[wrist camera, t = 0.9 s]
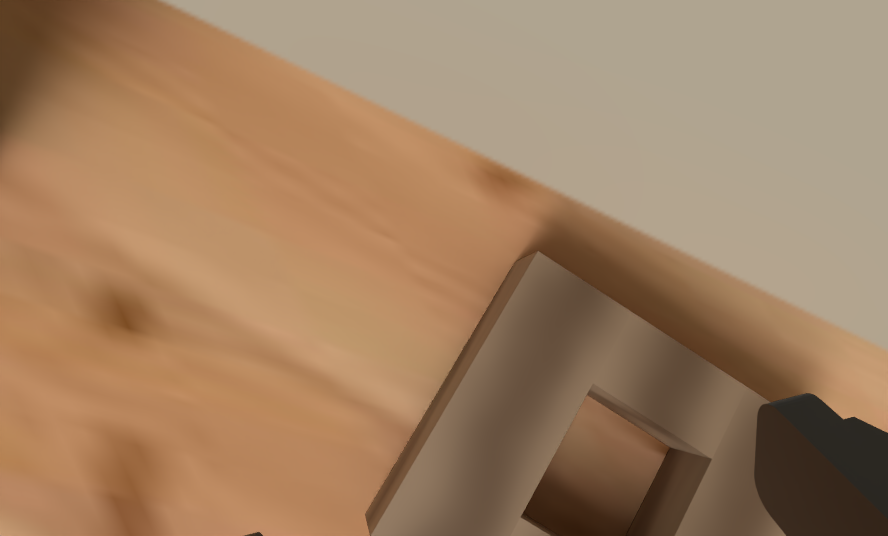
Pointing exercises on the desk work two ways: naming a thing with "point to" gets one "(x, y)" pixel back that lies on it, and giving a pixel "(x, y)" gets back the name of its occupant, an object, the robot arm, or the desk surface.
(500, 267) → the desk surface
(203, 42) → the desk surface
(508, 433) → the socket block
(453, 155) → the desk surface
